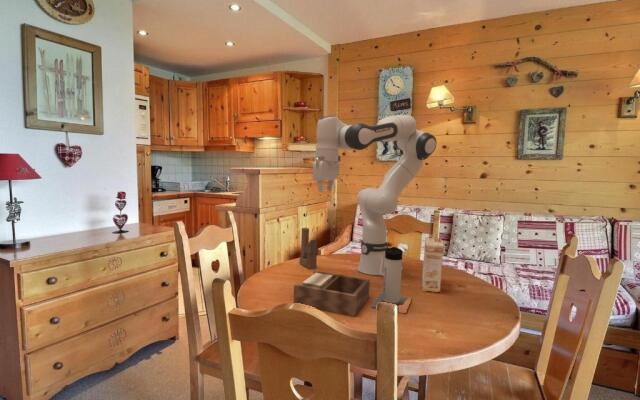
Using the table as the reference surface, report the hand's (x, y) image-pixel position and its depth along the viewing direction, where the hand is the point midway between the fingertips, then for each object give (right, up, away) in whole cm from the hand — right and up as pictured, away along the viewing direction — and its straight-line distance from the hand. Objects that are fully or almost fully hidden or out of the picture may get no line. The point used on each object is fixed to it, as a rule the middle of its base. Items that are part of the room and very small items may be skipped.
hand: (325, 191), depth 145 cm
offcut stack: (-3, -41, -10) cm, 42 cm away
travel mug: (+24, -41, -13) cm, 49 cm away
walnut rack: (+2, -41, -12) cm, 43 cm away
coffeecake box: (+45, -40, +7) cm, 61 cm away
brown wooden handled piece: (-8, -36, +30) cm, 47 cm away
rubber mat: (+24, -42, -13) cm, 50 cm away
